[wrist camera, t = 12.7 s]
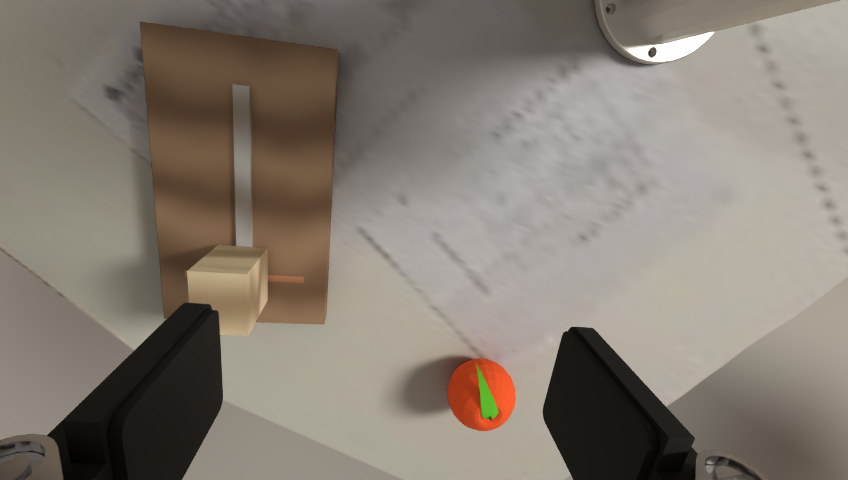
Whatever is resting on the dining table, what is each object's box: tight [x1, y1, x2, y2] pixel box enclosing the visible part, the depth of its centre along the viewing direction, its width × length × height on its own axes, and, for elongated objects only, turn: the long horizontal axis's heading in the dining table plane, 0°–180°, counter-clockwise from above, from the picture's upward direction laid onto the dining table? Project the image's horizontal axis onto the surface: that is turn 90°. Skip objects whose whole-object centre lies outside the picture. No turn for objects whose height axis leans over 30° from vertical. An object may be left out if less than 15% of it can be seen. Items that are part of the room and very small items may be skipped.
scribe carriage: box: [187, 245, 268, 336], centre depth 32 cm, size 6×4×6 cm
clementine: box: [447, 358, 516, 431], centre depth 40 cm, size 8×7×7 cm
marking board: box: [140, 22, 339, 324], centre depth 34 cm, size 24×14×2 cm, turn 174°
